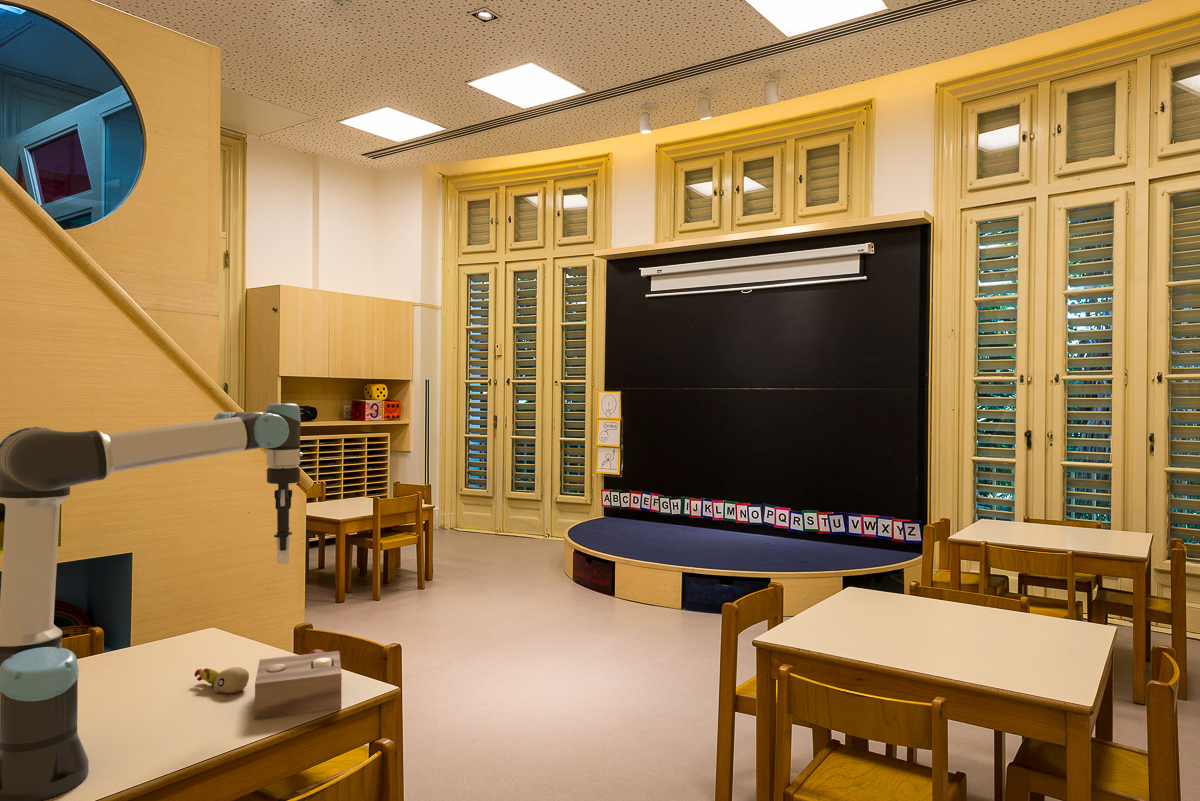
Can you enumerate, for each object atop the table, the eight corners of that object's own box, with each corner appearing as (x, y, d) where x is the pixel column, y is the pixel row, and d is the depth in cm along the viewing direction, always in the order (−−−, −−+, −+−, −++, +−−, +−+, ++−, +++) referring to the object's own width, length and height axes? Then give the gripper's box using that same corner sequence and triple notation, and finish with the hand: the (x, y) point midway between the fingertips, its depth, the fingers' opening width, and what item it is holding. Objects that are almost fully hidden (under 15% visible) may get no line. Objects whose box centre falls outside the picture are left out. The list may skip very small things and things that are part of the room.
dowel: (331, 696, 176) (331, 662, 176) (313, 698, 175) (313, 664, 174) (331, 690, 180) (331, 656, 180) (313, 692, 178) (313, 658, 178)
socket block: (341, 708, 171) (341, 671, 171) (254, 720, 165) (254, 681, 165) (338, 682, 186) (339, 649, 186) (259, 692, 180) (259, 657, 180)
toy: (182, 676, 181) (226, 685, 175) (205, 653, 187) (248, 662, 181) (193, 693, 184) (236, 703, 178) (216, 670, 189) (258, 679, 183)
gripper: (299, 468, 178) (299, 567, 178) (300, 463, 190) (300, 556, 190) (265, 469, 175) (264, 570, 176) (268, 464, 187) (267, 558, 188)
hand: (283, 562), depth 183 cm, fingers closed
